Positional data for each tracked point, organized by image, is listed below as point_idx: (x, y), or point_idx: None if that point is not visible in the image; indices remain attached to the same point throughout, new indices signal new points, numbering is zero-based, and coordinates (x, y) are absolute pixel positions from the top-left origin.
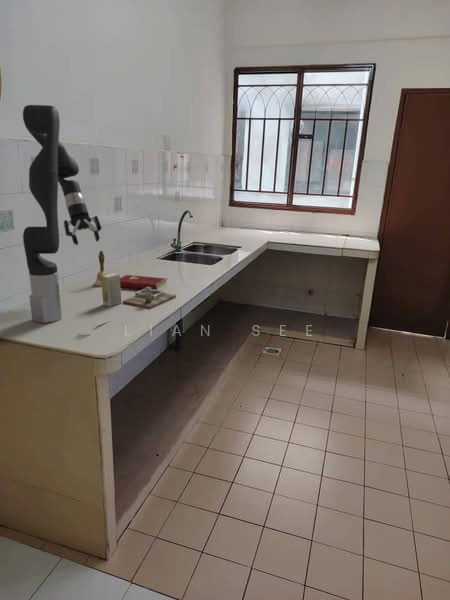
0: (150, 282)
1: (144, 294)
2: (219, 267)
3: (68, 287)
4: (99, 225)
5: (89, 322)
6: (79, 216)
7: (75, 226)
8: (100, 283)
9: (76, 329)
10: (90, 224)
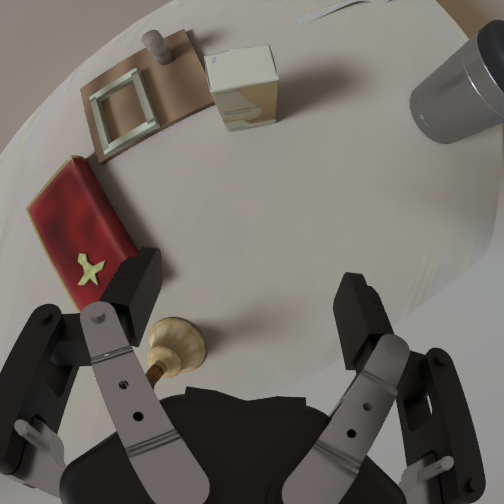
0: (72, 189)
1: (145, 93)
2: None
3: (286, 376)
4: (29, 338)
5: (361, 30)
6: None
7: (379, 413)
8: (188, 334)
9: (394, 20)
10: (121, 387)
